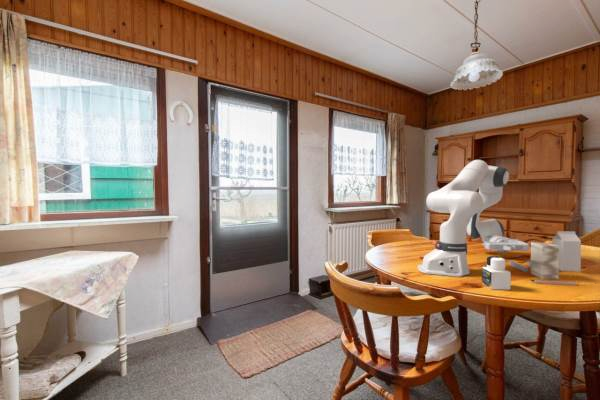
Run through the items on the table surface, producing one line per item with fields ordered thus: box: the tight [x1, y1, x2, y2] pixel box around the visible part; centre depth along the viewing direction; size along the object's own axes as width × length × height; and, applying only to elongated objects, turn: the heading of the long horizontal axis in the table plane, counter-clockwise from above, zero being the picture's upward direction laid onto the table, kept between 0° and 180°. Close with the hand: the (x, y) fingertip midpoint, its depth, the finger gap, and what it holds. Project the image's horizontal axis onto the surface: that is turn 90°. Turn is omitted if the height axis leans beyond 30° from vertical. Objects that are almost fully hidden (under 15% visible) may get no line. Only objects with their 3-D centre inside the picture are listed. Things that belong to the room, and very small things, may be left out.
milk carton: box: [551, 230, 582, 273], centre depth 130 cm, size 7×7×19 cm
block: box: [530, 242, 560, 280], centre depth 119 cm, size 6×8×14 cm
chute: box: [508, 260, 578, 286], centre depth 125 cm, size 14×27×3 cm, turn 167°
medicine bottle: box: [481, 255, 512, 291], centre depth 110 cm, size 7×7×12 cm
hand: (513, 249), depth 144 cm, fingers closed
